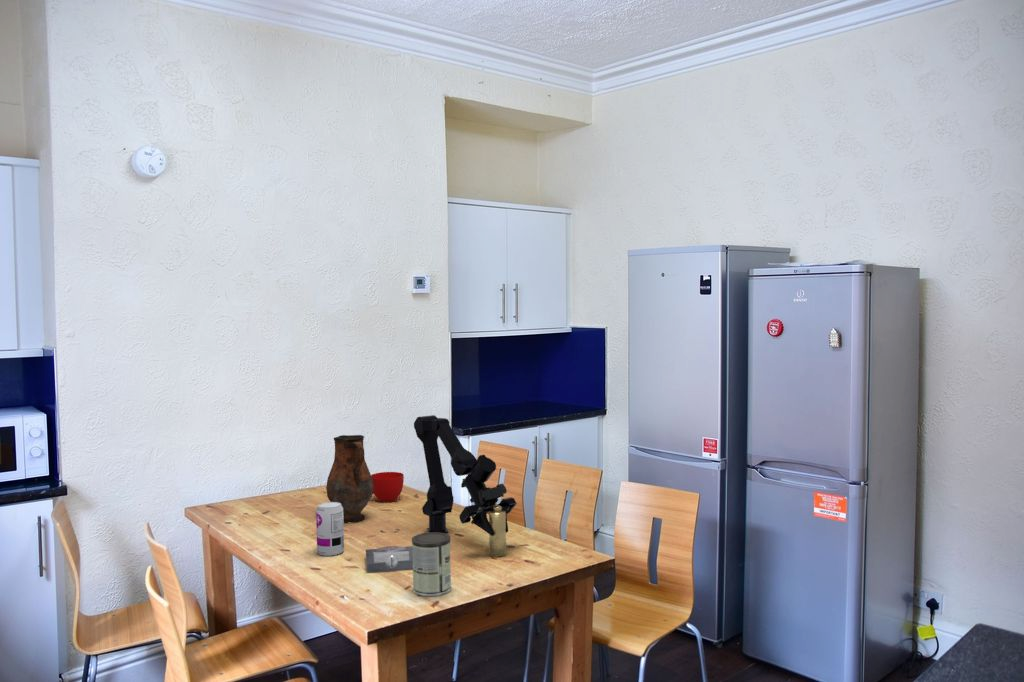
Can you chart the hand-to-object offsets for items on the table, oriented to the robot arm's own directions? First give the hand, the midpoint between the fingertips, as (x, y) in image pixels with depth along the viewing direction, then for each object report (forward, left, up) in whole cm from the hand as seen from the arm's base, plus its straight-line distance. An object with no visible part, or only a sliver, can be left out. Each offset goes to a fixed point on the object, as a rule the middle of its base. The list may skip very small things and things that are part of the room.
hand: (500, 533), depth 237 cm
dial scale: (-1, -33, -7) cm, 34 cm away
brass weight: (-1, -1, -7) cm, 7 cm away
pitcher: (-53, -44, -7) cm, 69 cm away
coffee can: (+24, -24, -7) cm, 34 cm away
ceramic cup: (-80, -32, -7) cm, 86 cm away
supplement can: (-16, -51, -7) cm, 53 cm away
